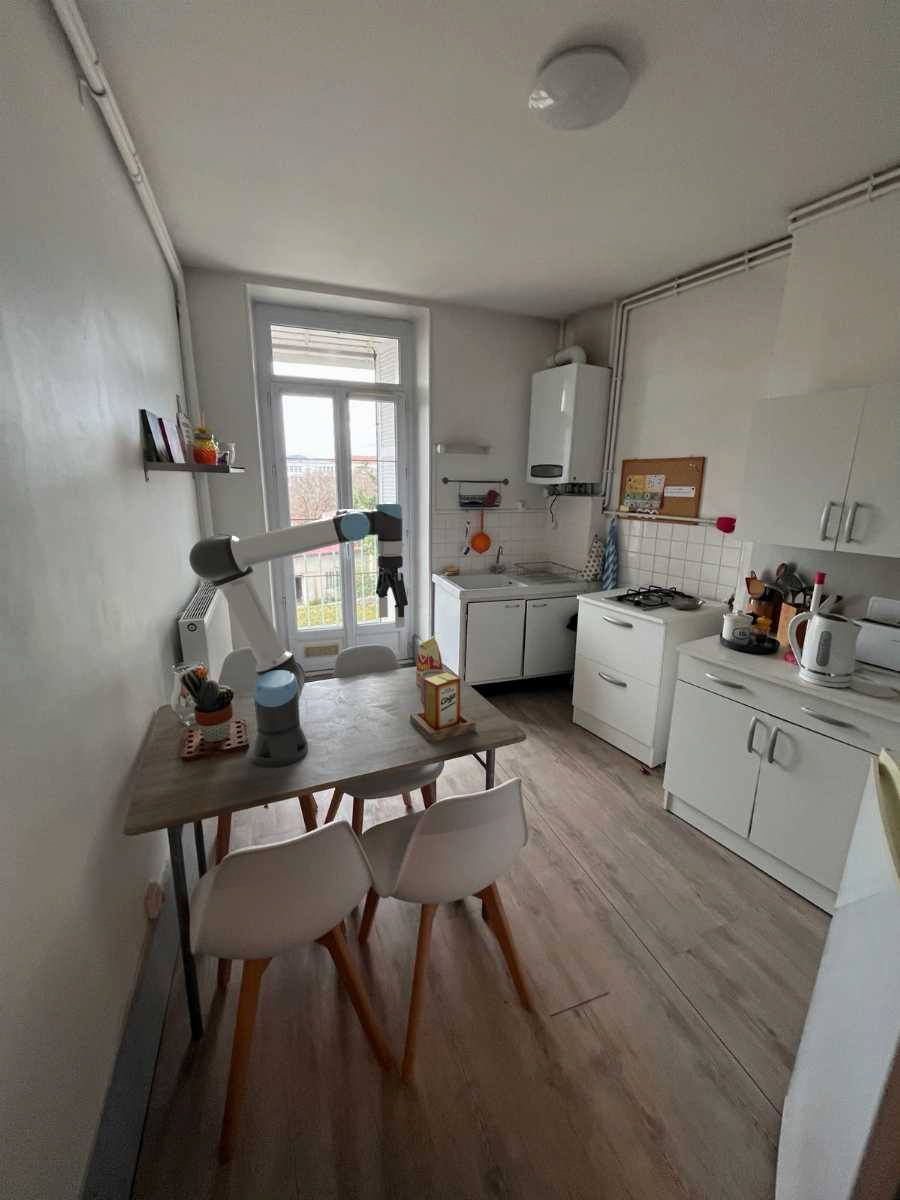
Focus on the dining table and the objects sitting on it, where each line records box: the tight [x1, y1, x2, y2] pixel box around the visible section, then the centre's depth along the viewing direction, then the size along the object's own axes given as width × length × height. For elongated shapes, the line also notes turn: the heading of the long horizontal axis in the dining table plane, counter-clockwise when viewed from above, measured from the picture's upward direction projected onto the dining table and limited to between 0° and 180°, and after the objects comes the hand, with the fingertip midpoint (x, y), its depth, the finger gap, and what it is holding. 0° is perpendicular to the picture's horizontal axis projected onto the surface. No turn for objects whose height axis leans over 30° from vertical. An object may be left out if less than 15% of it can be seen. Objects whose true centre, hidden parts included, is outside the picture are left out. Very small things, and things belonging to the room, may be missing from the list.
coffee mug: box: [420, 669, 448, 704], centre depth 177 cm, size 13×10×10 cm
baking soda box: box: [423, 671, 461, 731], centre depth 155 cm, size 10×6×16 cm
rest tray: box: [409, 710, 476, 744], centre depth 157 cm, size 16×15×3 cm
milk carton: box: [415, 635, 444, 688], centre depth 189 cm, size 9×9×20 cm
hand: (391, 622), depth 152 cm, fingers open, 13 cm apart
